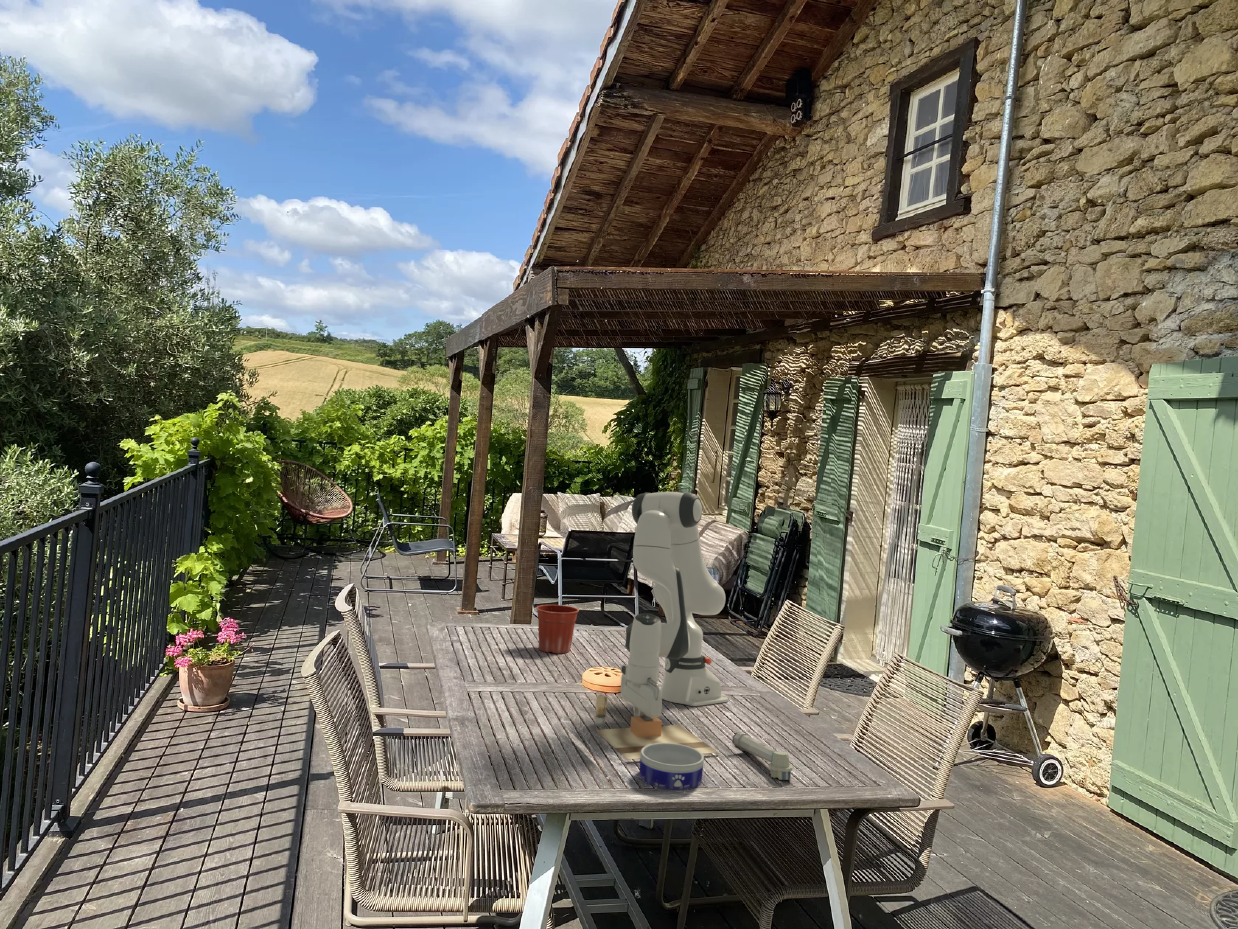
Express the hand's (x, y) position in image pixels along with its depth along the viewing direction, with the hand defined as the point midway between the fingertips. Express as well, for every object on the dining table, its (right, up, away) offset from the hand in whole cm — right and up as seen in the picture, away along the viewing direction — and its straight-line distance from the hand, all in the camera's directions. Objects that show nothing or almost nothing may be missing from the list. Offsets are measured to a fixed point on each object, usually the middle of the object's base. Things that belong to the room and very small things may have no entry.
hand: (638, 723), depth 232 cm
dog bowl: (+7, -4, -31) cm, 32 cm away
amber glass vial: (-11, -2, 0) cm, 11 cm away
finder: (+2, -2, -4) cm, 5 cm away
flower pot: (-30, 0, +89) cm, 94 cm away
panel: (+4, -3, -10) cm, 11 cm away
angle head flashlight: (+31, -6, -16) cm, 35 cm away
